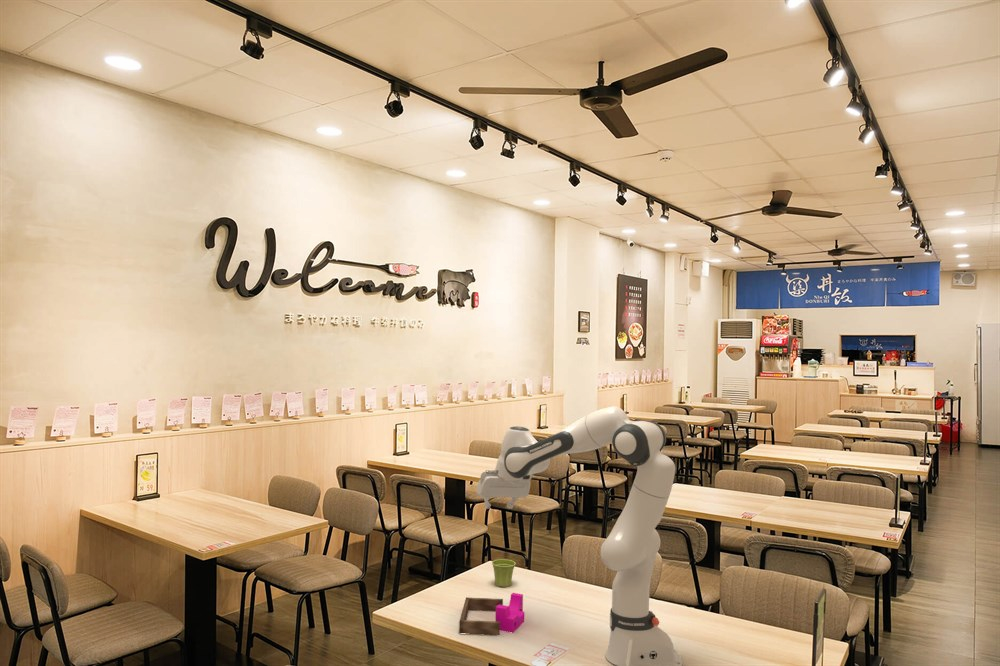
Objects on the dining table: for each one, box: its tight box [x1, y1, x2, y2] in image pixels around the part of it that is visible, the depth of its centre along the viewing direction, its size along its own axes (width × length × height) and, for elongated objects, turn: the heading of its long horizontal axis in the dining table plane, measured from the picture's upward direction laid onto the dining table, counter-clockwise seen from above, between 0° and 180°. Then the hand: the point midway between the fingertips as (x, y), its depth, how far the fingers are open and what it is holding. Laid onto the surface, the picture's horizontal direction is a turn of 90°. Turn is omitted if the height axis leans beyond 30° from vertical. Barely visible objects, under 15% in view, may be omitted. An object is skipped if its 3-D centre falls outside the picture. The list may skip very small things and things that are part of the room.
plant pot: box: [491, 558, 517, 588], centre depth 264 cm, size 9×9×9 cm
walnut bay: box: [458, 597, 504, 636], centre depth 227 cm, size 13×21×4 cm, turn 177°
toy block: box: [494, 592, 525, 634], centre depth 227 cm, size 15×6×8 cm, turn 156°
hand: (498, 508), depth 232 cm, fingers open, 8 cm apart
